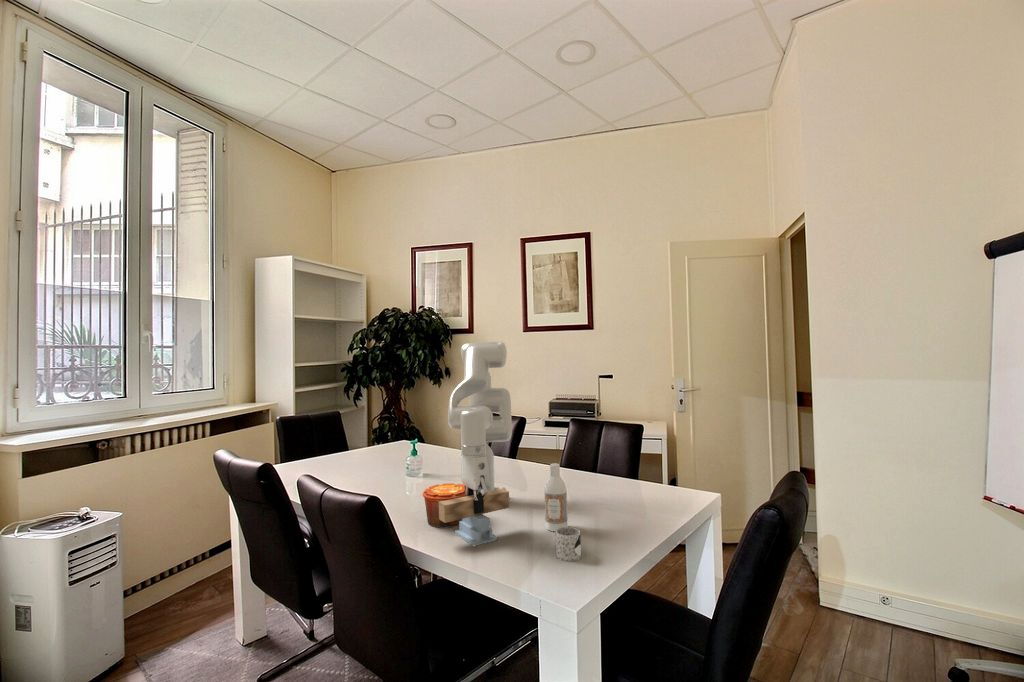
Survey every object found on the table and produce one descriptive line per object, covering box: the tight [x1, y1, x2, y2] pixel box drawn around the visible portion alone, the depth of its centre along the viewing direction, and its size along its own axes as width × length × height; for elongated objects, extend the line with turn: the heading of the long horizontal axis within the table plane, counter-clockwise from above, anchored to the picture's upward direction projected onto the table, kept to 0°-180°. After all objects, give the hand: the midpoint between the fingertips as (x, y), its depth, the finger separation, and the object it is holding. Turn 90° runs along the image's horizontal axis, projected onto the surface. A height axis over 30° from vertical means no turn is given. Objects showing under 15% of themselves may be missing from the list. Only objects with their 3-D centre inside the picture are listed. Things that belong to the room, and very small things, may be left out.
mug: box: [555, 526, 582, 562], centre depth 131 cm, size 10×7×7 cm, turn 171°
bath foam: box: [544, 462, 569, 533], centre depth 150 cm, size 7×7×20 cm
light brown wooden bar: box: [439, 489, 510, 523], centre depth 145 cm, size 22×4×5 cm, turn 123°
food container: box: [422, 482, 466, 529], centre depth 159 cm, size 16×16×11 cm
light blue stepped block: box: [454, 514, 498, 547], centre depth 144 cm, size 8×12×7 cm, turn 33°
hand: (475, 510), depth 145 cm, fingers closed on light brown wooden bar, 4 cm apart
